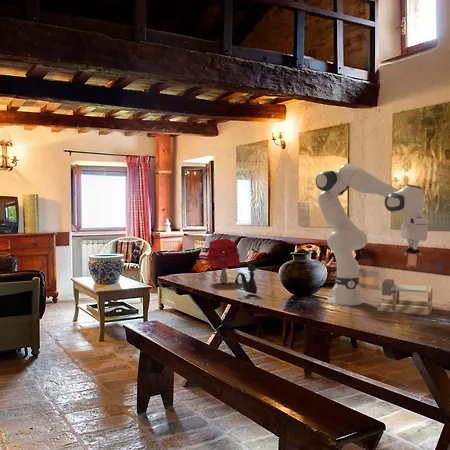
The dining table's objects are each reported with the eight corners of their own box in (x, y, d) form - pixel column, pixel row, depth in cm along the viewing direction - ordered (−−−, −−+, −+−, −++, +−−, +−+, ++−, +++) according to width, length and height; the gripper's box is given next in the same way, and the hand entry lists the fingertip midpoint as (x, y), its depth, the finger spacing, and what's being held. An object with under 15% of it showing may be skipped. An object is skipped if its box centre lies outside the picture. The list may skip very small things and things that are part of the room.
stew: (323, 278, 345) (323, 256, 344) (351, 282, 326) (351, 258, 326) (296, 282, 328) (296, 258, 327) (324, 287, 309) (324, 261, 308)
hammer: (382, 295, 238) (382, 282, 238) (385, 290, 251) (385, 278, 251) (425, 298, 230) (425, 285, 230) (427, 293, 242) (427, 281, 242)
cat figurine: (231, 293, 288) (230, 263, 287) (250, 291, 295) (250, 261, 295) (240, 296, 280) (240, 264, 279) (260, 293, 287) (259, 263, 286)
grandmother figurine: (404, 267, 230) (405, 240, 229) (403, 265, 234) (404, 239, 233) (421, 267, 228) (422, 240, 227) (420, 266, 232) (421, 239, 231)
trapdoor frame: (377, 310, 238) (377, 288, 237) (382, 304, 254) (382, 283, 253) (430, 315, 228) (430, 291, 227) (432, 307, 243) (432, 285, 243)
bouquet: (200, 281, 334) (200, 238, 333) (227, 278, 349) (226, 236, 348) (220, 285, 318) (220, 239, 317) (247, 281, 333) (247, 237, 332)
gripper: (397, 218, 240) (397, 246, 241) (416, 220, 220) (416, 251, 220) (410, 218, 241) (409, 246, 241) (430, 220, 220) (429, 251, 221)
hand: (412, 248), depth 231 cm, fingers closed on grandmother figurine, 3 cm apart
